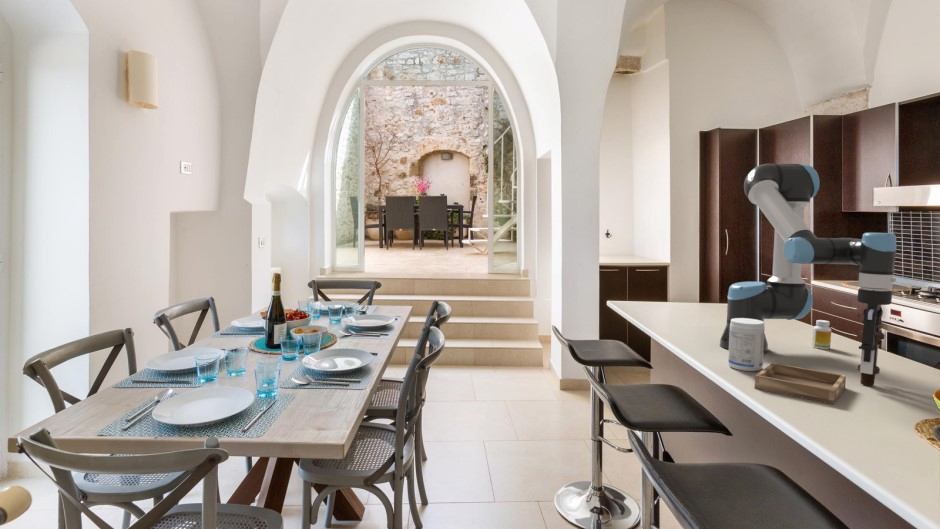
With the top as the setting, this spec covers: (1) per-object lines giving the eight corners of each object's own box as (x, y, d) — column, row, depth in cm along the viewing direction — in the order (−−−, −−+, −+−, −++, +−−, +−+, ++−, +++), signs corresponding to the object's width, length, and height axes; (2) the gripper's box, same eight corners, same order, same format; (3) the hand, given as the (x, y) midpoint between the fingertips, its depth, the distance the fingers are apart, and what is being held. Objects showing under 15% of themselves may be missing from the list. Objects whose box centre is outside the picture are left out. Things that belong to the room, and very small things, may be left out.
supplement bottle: (833, 349, 191) (835, 322, 190) (818, 349, 191) (820, 322, 190) (823, 346, 197) (825, 319, 196) (808, 345, 197) (810, 319, 196)
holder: (771, 374, 160) (772, 362, 159) (845, 388, 148) (846, 375, 147) (754, 388, 147) (755, 375, 146) (833, 404, 134) (834, 390, 134)
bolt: (883, 388, 148) (887, 334, 146) (862, 387, 149) (866, 333, 147) (871, 382, 153) (876, 330, 152) (851, 381, 154) (856, 329, 153)
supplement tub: (744, 362, 173) (747, 317, 171) (769, 370, 164) (772, 322, 162) (720, 364, 169) (723, 318, 168) (745, 373, 160) (748, 324, 159)
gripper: (888, 294, 138) (880, 380, 140) (896, 286, 154) (889, 365, 156) (852, 291, 143) (845, 374, 145) (863, 284, 159) (857, 360, 161)
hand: (868, 369), depth 150 cm, fingers open, 8 cm apart
